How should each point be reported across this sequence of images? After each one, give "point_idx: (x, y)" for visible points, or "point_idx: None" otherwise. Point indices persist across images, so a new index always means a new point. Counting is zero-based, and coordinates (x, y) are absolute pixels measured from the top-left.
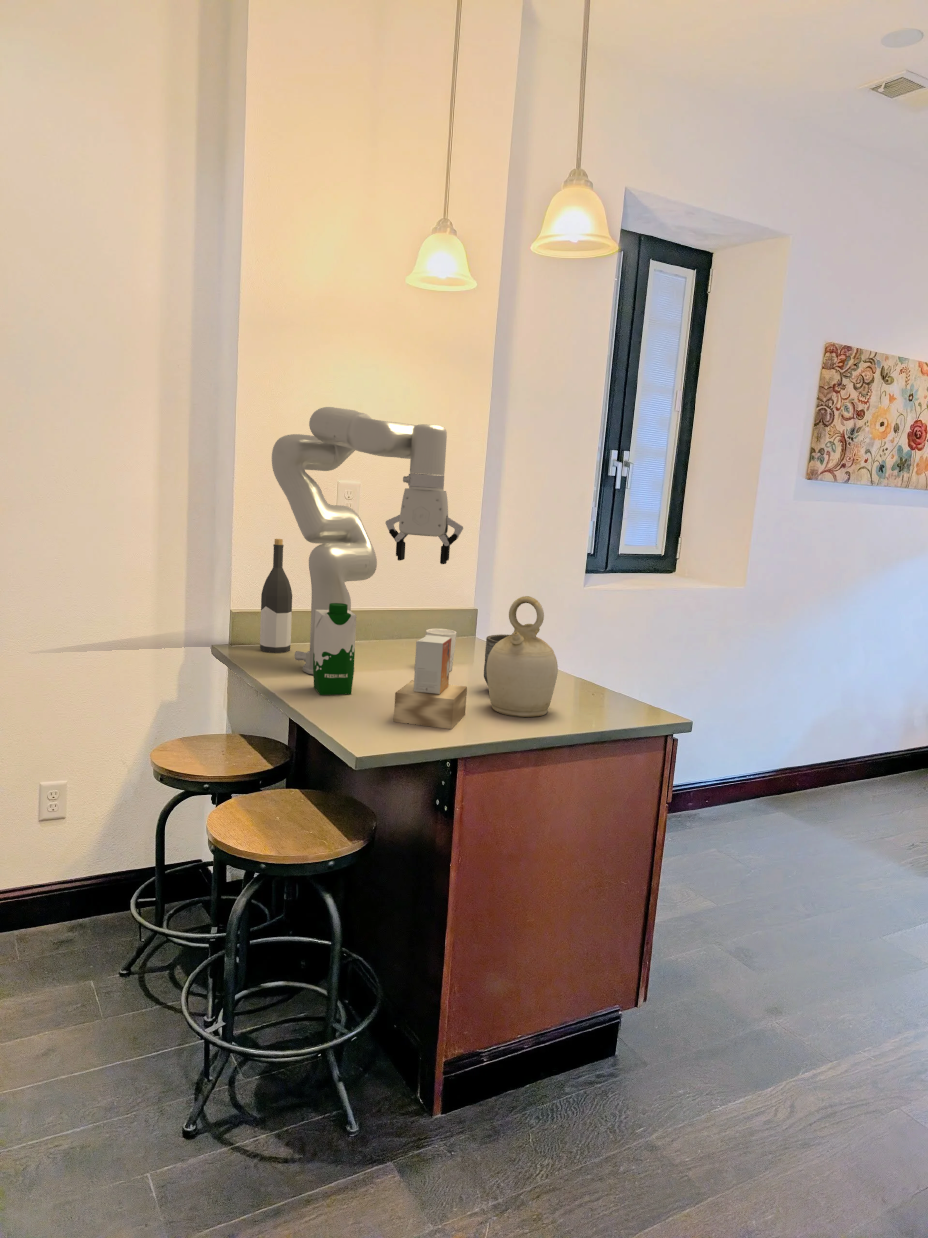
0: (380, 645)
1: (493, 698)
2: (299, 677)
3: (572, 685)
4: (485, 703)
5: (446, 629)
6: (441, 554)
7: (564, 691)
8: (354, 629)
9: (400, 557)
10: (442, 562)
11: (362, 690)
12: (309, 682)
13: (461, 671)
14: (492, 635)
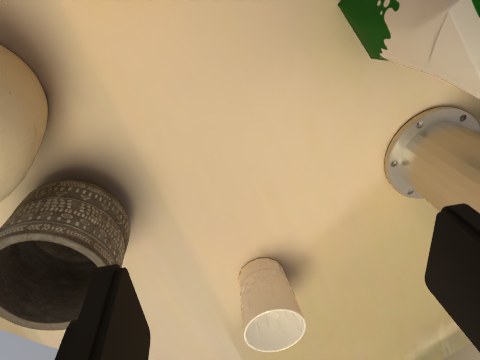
0: (394, 342)
1: (2, 50)
2: None
3: None
4: (71, 107)
5: (273, 350)
6: (96, 322)
7: None
8: (421, 15)
9: (454, 219)
10: (99, 270)
11: (328, 54)
12: None
13: (223, 284)
14: None
